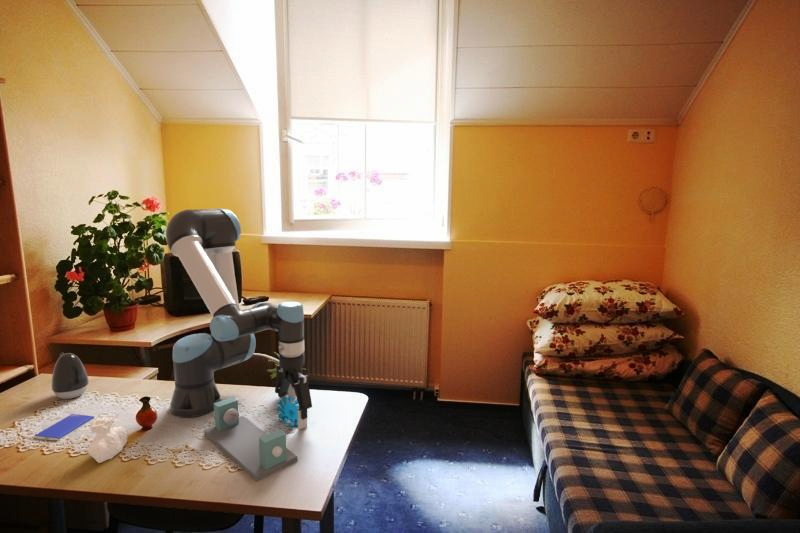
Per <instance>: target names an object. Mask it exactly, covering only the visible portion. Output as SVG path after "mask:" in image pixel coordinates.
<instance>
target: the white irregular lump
mask: <svg viewBox="0 0 800 533" xmlns="http://www.w3.org/2000/svg"><path fill="white" fill-rule="evenodd" d="M113 424H114V423H113V421H112V420H111V416H107V417H98V418H97V417H96V418H95V419H94V420H92V421H91V422H89V428H90V431H91V433H92V434H95V433H96V435H95V436H94V438H93V440H91V441H90V444H89V445H88V449H87V451H86V452H87V454H88V455H89V456H91V457H92V458H93V459H94V460H95V461H96V462H97V463H98V464H100V463H104V462H106V461H109V460H111V459H113V458H114V457H115V456H117V455H118V454H119V453H120V452H122V451H123V448H124V446H125V445H126V444H127V442H128V437H129V436H128V432H127V430H126V429H125V427H124V426H120V425H119V426H115V427H112V426H113Z"/></svg>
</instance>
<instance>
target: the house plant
mask: <svg viewBox="0 0 800 533" xmlns="http://www.w3.org/2000/svg"><path fill="white" fill-rule="evenodd" d="M273 353H274V354H276V355H277V357H278V358H279V355H280V353H277V352H275V351H273ZM269 362H274V365H275V366H277V365H279V362H277V361H276V360H274V359H269ZM301 370H306V368H304V367H302V368H301ZM266 371H267V372H271V373H272V374H270V377H271V378H270V379H271V380H272V379H274V378H276V377H277V367H275V368H273V369H271V368H270V369H266ZM296 384H299V382H298V383H295V385H296ZM279 388H280V387H279ZM288 393H289V394H286V395H288V398H289V397H290V396H291V397H293V400H294V399H297V398H296V394H295V391H294V388H292V386H291V383H290V386H289V389H288ZM286 395H285V396H286Z"/></svg>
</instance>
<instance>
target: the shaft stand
mask: <svg viewBox="0 0 800 533" xmlns="http://www.w3.org/2000/svg"><path fill="white" fill-rule="evenodd" d="M213 415H214V425H213V426H212V427H209V428H207V429H203V431H204V432H203V433H204V434H203V435H204V436H206V437H207V439H208V440H210V442H212V443H213V444H214V445H215V446H216V447H217V448H219V450H221V451H222V452H223V453H224V454H225V455H226V456H228V458H229V459H230V460H232V461H233V462H234V463H235V464H236V465H237V466H239V467H240V468H241V470H242V471H244V472H245V473H246V474H247V475H249V476H250V477H251V478H252V479H253V480H254V481H255V482H258V481H260V480H263V479H264V478H266V477H269V476H270V475H273V474H274V473H276V472H278V471H280V470H283V469H285V468H286V467H289V466H290V465H292V464H294V463H296V462H298V461H299V460H298V455H297V454H295V453H294V452H293V451H292V450H290V449H289V448H287V433H286V432H285V431H283V430H281V429H277V430H275V431H272V432H270V433H267V432H265V431H264V430H263V429H262V428H260V427H259V426H258V425H256V424H254V423H253V422H252V421H250V420H249V419H248V418H246V417H245V416H244V415H241V416H240V413H239V400H238V399H237V398H235V397H234V396H232V397H229V398H225V399H223V400H221V401H219V402H216V403H214V410H213Z"/></svg>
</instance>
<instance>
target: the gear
mask: <svg viewBox="0 0 800 533" xmlns="http://www.w3.org/2000/svg"><path fill="white" fill-rule="evenodd" d="M282 400H283V401H282ZM282 400H280V399H279V401H278V402H277V406H276V409H275V410H276V411H277V412H279V413H278V414H277V417H278V419H281V421H282V420H283V421H282V422H281V423H283V424H284V425H286V424H287V423H288V422H289V421H290V423H289V424H288V426H289V427H290V428H293V427H294V426H295V427H298V409H299V404H298V401H297V399H296V400H294V399H293V397H291V396H290V397H289V398H288V400H289V402H288V403H287V402H286V400H287V397H283V398H282ZM293 400H294V402H292V401H293ZM283 402H284V405H283ZM280 406H281V407H282V409H281V407H280ZM280 412H282V413H283V414H282V413H280ZM281 417H282V418H281Z"/></svg>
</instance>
